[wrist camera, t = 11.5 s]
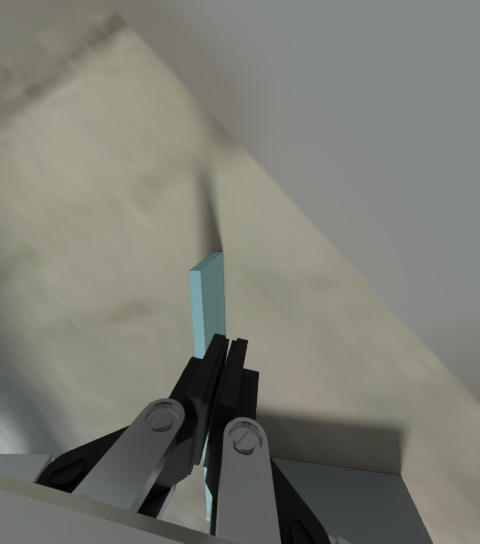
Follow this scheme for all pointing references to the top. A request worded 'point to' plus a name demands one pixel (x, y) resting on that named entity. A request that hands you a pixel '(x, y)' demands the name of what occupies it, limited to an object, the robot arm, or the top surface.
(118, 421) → the top surface
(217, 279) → the door
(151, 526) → the robot arm
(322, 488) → the grey box with knob
